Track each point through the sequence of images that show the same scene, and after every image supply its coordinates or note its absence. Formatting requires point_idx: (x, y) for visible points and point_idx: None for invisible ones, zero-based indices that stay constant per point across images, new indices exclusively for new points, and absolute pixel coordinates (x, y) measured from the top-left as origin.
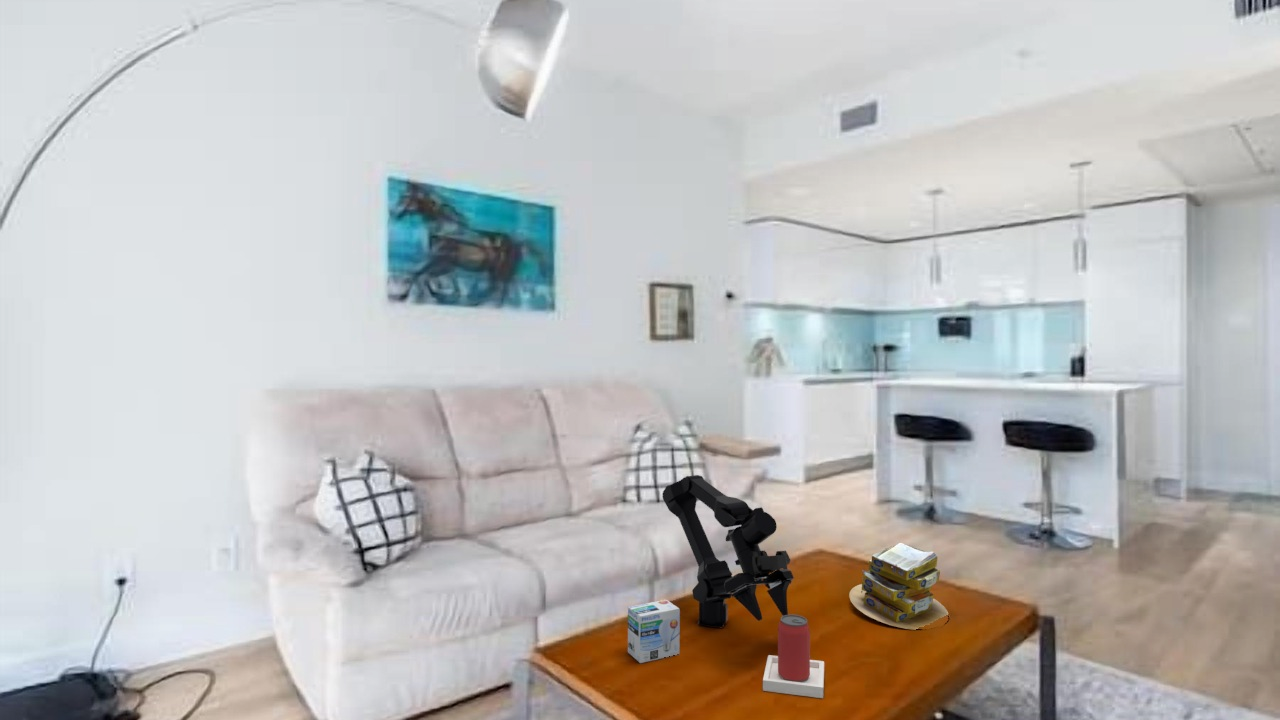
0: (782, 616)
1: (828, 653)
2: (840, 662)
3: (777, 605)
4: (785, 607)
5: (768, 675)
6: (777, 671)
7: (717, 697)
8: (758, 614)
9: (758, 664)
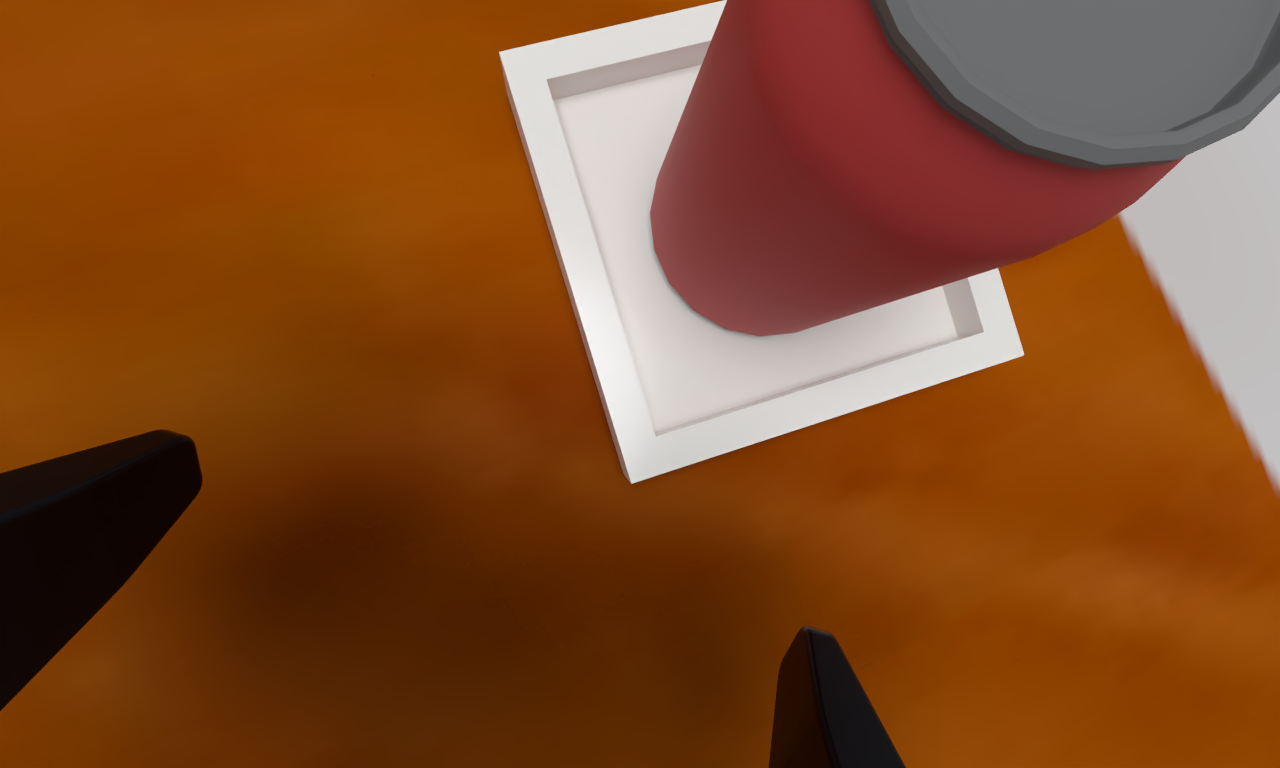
0: (1102, 143)
1: (174, 143)
2: (291, 24)
3: (7, 678)
4: (66, 487)
5: (943, 347)
6: (758, 350)
7: (1180, 560)
8: (863, 716)
9: (654, 537)
